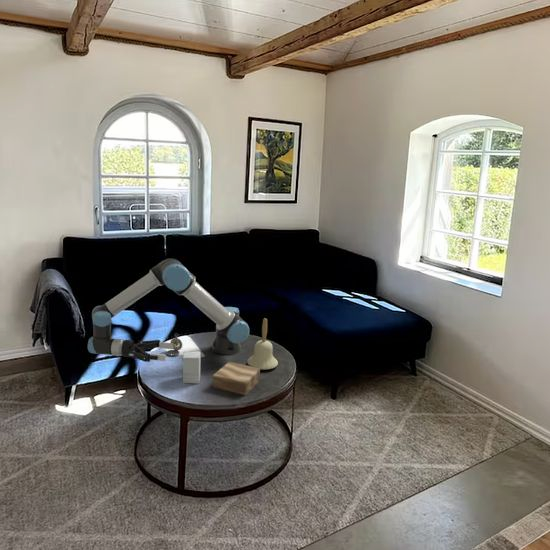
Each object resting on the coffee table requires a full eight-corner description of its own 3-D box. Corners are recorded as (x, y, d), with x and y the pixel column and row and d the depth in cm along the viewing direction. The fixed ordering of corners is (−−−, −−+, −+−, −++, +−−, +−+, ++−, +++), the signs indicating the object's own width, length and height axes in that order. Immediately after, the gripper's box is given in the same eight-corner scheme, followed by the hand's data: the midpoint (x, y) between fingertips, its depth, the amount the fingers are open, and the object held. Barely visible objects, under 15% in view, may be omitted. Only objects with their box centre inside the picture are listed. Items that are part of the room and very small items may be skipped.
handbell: (264, 375, 236) (267, 326, 230) (240, 365, 245) (243, 318, 239) (283, 365, 248) (287, 318, 242) (260, 356, 257) (262, 311, 251)
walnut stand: (228, 373, 236) (229, 361, 234) (259, 380, 230) (260, 368, 229) (212, 387, 221) (213, 375, 220) (245, 395, 216) (246, 382, 214)
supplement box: (200, 376, 231) (201, 351, 228) (198, 383, 223) (199, 358, 220) (184, 376, 230) (185, 350, 227) (182, 383, 223) (182, 357, 220)
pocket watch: (166, 357, 249) (166, 338, 247) (165, 350, 257) (165, 332, 255) (183, 356, 252) (183, 337, 249) (181, 349, 260) (181, 332, 257)
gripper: (132, 345, 237) (176, 349, 237) (113, 366, 213) (161, 371, 213) (132, 330, 236) (176, 334, 235) (113, 350, 211) (162, 354, 211)
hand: (169, 351), depth 224 cm, fingers open, 13 cm apart
